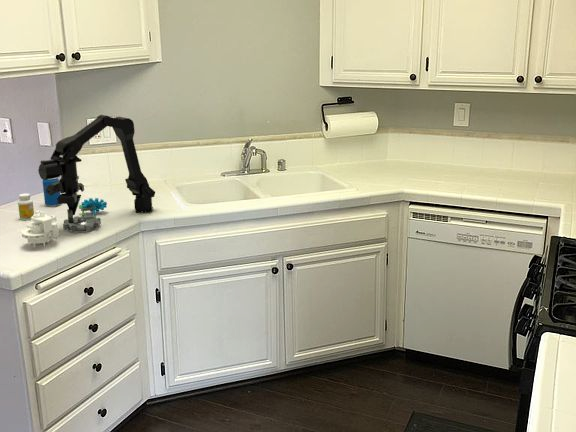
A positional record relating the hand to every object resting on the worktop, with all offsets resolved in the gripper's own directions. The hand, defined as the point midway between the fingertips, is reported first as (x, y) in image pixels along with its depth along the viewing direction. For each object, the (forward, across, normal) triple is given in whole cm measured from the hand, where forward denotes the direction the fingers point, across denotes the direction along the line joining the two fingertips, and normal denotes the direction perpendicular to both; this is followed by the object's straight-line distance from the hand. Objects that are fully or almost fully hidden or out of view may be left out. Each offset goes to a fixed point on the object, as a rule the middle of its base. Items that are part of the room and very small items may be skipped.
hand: (73, 215), depth 242 cm
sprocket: (+5, +1, +3) cm, 6 cm away
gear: (+6, -18, +4) cm, 20 cm away
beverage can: (+6, -32, -15) cm, 36 cm away
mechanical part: (+5, +17, -8) cm, 20 cm away
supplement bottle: (+6, -14, -21) cm, 26 cm away
